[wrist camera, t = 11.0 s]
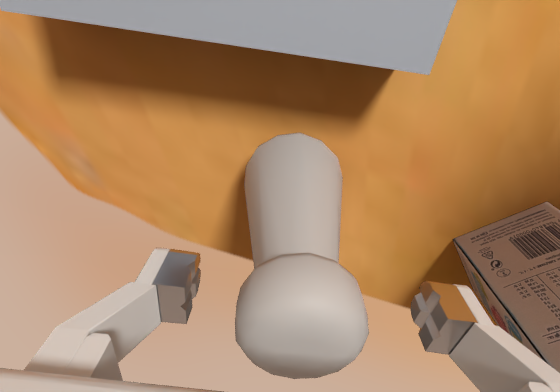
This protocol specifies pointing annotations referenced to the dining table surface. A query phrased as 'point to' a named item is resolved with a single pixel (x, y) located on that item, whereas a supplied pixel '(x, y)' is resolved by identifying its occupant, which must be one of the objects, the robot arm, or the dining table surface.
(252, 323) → the salt shaker
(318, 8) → the socket board
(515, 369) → the robot arm
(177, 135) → the dining table surface
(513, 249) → the juice carton
